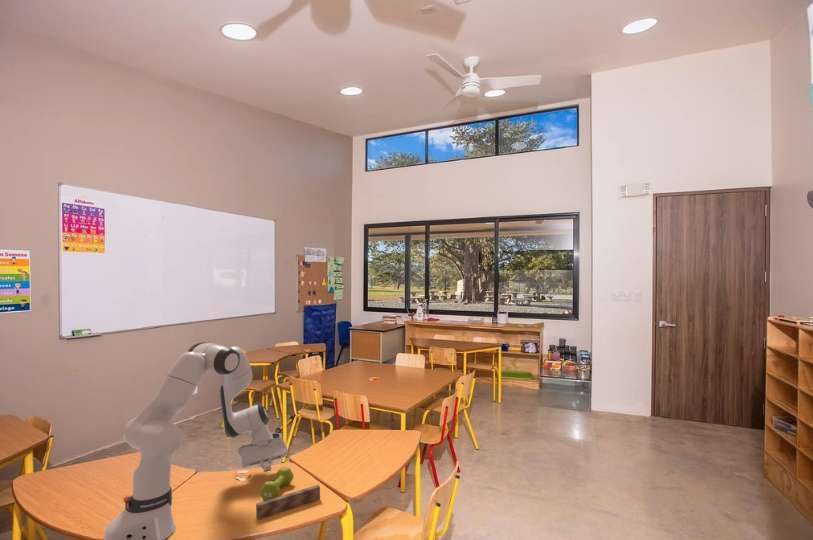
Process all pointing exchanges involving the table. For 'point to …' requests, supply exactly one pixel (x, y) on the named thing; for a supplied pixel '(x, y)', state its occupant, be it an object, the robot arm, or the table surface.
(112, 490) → the table surface
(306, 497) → the walnut board
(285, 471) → the dumbbell
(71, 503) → the table surface
